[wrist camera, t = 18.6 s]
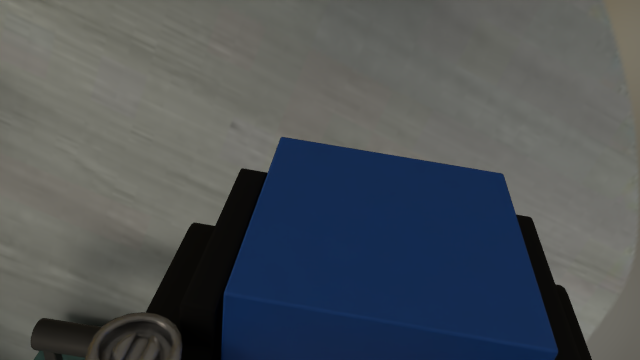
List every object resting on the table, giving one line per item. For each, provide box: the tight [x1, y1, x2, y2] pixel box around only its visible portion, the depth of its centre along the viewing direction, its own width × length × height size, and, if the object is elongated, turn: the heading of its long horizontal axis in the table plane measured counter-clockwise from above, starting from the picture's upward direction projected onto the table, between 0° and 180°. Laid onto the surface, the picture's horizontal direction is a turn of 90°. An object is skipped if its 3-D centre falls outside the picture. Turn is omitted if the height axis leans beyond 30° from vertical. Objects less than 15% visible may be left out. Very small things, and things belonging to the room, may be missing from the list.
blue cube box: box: [221, 137, 558, 360], centre depth 10 cm, size 4×4×4 cm
